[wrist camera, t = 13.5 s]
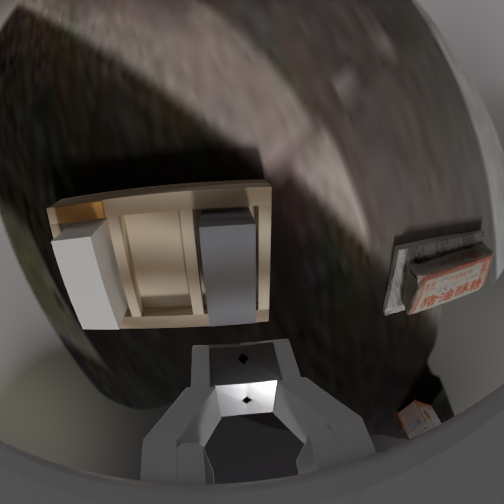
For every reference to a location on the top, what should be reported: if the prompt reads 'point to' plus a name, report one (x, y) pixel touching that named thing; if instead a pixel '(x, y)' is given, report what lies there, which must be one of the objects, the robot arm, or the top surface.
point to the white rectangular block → (91, 274)
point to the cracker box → (418, 418)
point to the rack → (185, 250)
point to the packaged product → (436, 271)
